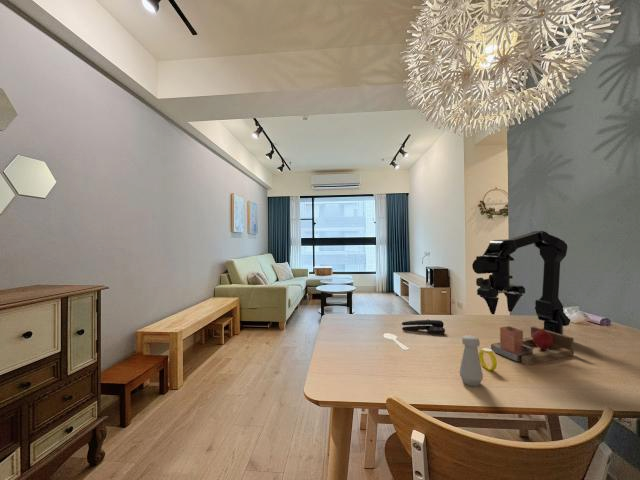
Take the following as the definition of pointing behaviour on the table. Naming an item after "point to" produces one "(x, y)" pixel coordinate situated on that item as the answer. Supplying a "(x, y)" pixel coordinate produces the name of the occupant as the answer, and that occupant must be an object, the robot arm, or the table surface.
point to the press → (512, 344)
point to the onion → (542, 339)
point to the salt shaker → (471, 362)
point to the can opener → (434, 329)
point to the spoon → (394, 337)
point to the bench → (559, 348)
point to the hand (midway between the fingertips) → (501, 312)
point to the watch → (494, 362)
